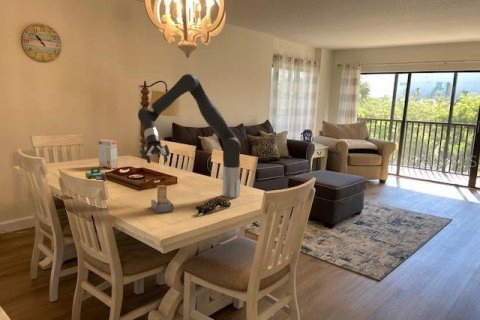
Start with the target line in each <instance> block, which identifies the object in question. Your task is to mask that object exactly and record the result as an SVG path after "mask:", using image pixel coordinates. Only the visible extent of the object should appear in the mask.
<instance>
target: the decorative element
mask: <svg viewBox="0 0 480 320" xmlns="http://www.w3.org/2000/svg"><path fill="white" fill-rule="evenodd" d="M230 206H232V202H230V201H229V200H228V201H227V200H226V199H222V198H218V196H217V197H214V198H213V199H212V198H211V199H209V201H207V202H205V203H204V204H203V205H197V206H196V207H195V209H196V210H197V212H198V214H202V216H206V215H207V214H208V213H210V212H212V211H213V210H214V209H216V208H217V207H222V208H227V207H230Z"/></svg>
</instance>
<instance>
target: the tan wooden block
mask: <svg viewBox="0 0 480 320" xmlns="http://www.w3.org/2000/svg"><path fill="white" fill-rule="evenodd" d="M167 188H168V187H167V186H166V185H165V184H162V185H157V192H156V193H157V196H156V198H157V201H156V202H157V203H158V205H164V204H167V199H168V198H167V197H168V196H167V194H168V193H167Z"/></svg>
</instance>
